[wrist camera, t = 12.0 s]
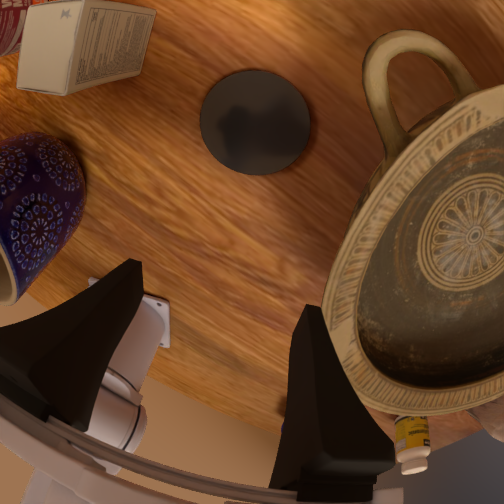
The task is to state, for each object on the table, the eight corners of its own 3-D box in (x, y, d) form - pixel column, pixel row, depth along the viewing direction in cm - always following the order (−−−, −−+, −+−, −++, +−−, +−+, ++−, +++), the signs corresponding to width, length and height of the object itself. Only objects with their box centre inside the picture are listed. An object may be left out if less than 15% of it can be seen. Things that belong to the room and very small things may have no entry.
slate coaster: (196, 161, 20) (193, 163, 20) (210, 62, 16) (208, 62, 16) (295, 183, 20) (295, 186, 20) (322, 84, 16) (322, 85, 16)
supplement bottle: (432, 409, 36) (439, 464, 29) (413, 423, 40) (416, 474, 32) (407, 408, 36) (411, 467, 29) (388, 422, 40) (390, 476, 32)
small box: (107, 6, 14) (26, 3, 7) (159, 9, 14) (84, -4, 8) (93, 69, 17) (13, 90, 10) (141, 77, 17) (64, 98, 11)
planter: (55, 239, 27) (-10, 312, 18) (7, 153, 22) (-74, 210, 13) (123, 207, 23) (41, 299, 15) (65, 95, 18) (-49, 145, 9)
